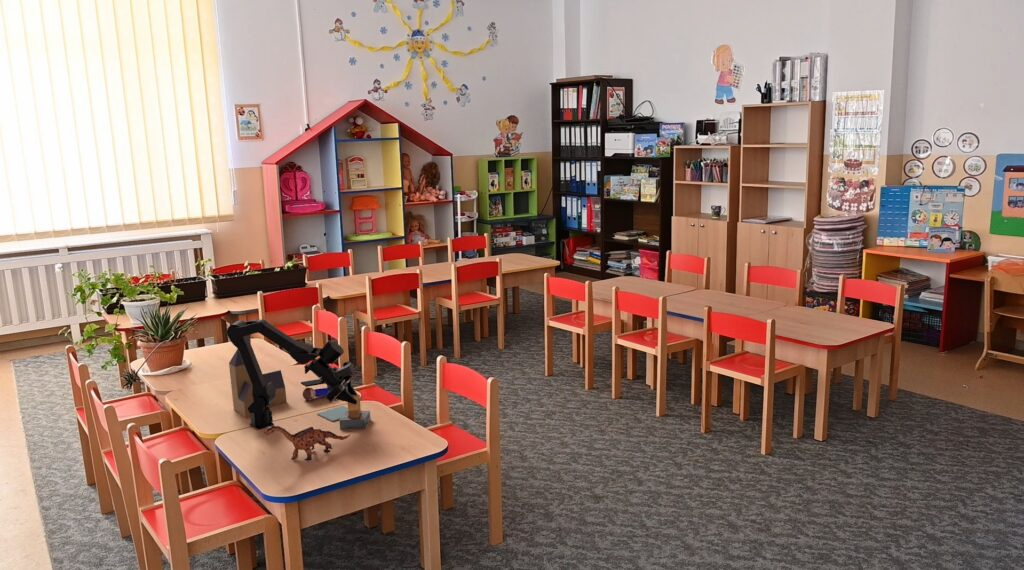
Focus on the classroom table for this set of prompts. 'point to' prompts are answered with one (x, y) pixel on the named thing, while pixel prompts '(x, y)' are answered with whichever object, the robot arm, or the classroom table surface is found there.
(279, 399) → the toy building blocks
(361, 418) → the socket block
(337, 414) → the pad
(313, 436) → the toy dinosaur
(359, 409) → the peg
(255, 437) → the classroom table surface
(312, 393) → the figurine character
